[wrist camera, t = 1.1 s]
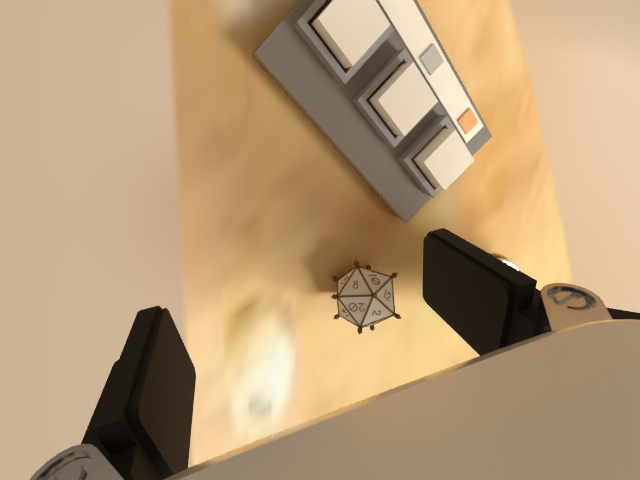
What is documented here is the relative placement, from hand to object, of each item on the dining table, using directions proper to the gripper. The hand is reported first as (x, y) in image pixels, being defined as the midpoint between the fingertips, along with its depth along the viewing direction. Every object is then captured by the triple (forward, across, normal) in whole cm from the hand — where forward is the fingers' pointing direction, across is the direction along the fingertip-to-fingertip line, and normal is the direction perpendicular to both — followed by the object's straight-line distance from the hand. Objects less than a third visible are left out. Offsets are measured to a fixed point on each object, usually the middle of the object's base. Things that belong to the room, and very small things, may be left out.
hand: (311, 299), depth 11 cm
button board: (+24, -15, -4) cm, 28 cm away
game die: (+24, -10, +17) cm, 31 cm away
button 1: (+20, -20, +2) cm, 29 cm away
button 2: (+21, -10, -11) cm, 26 cm away
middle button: (+21, -15, -4) cm, 26 cm away
